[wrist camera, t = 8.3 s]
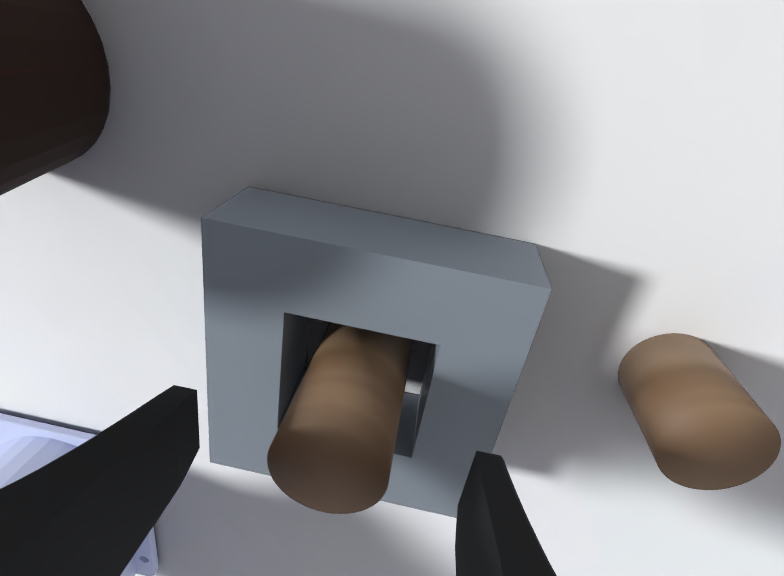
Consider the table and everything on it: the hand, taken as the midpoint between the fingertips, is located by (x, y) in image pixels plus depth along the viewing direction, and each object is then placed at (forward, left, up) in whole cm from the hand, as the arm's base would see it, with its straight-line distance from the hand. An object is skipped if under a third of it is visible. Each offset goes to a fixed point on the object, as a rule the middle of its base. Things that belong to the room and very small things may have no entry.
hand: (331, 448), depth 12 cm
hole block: (0, 0, -5) cm, 5 cm away
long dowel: (0, 0, -5) cm, 5 cm away
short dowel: (+1, -10, -5) cm, 11 cm away
